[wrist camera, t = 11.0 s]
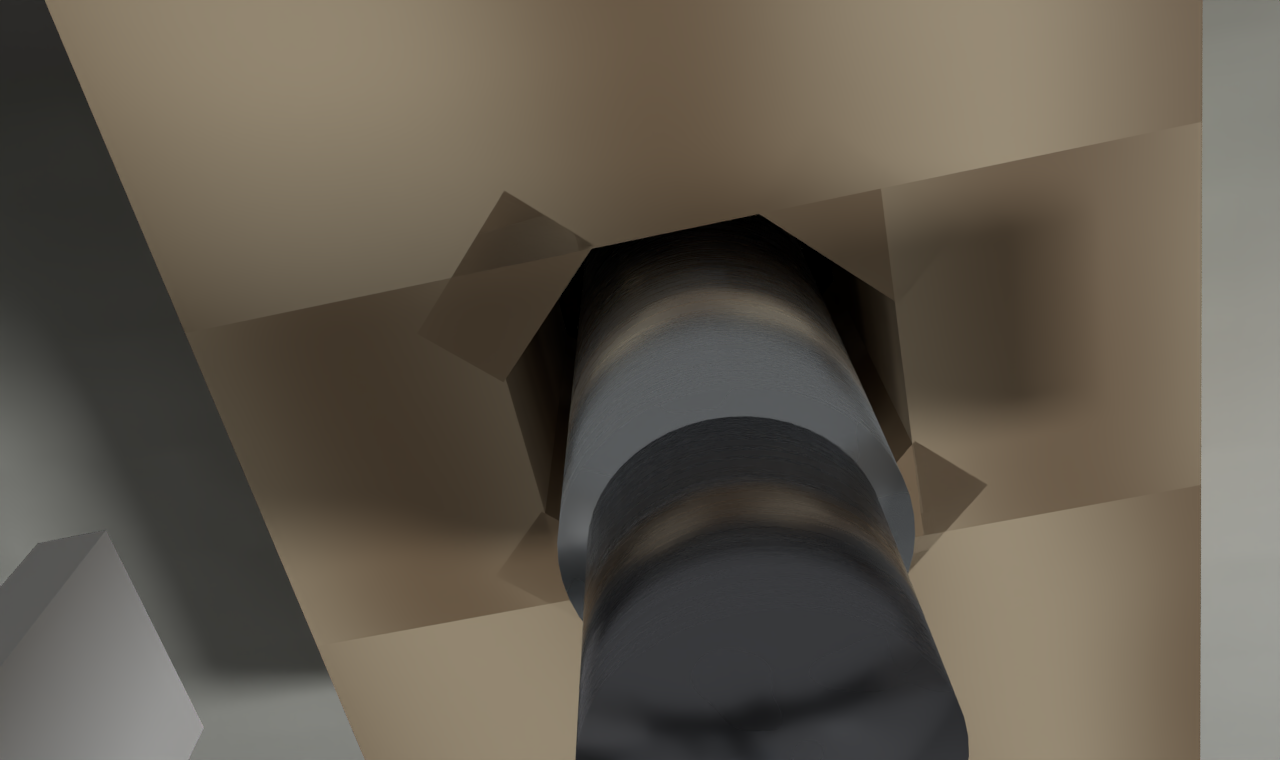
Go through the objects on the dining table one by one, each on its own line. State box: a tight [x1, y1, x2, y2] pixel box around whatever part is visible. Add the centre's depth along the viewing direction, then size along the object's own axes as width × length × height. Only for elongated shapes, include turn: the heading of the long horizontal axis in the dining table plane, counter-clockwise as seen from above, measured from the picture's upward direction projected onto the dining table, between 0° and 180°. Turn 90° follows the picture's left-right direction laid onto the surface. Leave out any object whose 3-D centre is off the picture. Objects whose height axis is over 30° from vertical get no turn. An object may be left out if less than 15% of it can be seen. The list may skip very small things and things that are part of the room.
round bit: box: [557, 214, 969, 760], centre depth 14 cm, size 4×4×12 cm
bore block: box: [45, 0, 1202, 760], centre depth 17 cm, size 12×16×6 cm
